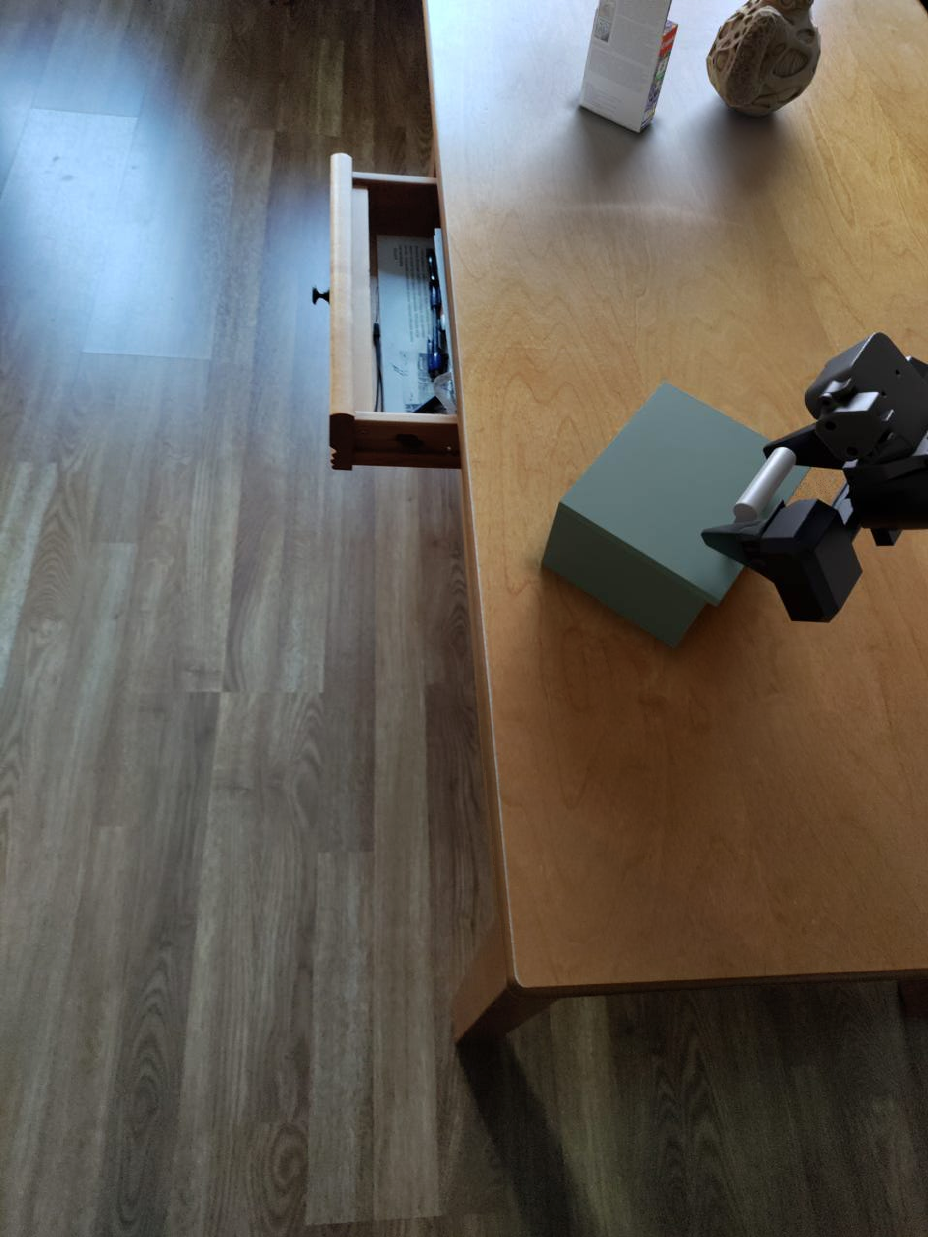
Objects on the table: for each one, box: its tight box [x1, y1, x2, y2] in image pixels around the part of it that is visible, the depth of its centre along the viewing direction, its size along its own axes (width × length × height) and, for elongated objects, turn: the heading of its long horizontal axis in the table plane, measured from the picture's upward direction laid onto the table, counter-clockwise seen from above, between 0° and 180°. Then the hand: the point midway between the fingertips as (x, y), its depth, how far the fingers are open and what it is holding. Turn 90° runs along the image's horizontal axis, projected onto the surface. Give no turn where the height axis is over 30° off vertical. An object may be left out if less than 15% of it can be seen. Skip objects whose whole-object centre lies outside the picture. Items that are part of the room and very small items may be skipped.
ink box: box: [577, 0, 679, 134], centre depth 88 cm, size 4×8×15 cm, turn 55°
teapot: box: [705, 0, 822, 118], centre depth 90 cm, size 21×12×15 cm, turn 154°
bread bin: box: [540, 508, 708, 650], centre depth 63 cm, size 12×15×7 cm
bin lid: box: [556, 380, 812, 608], centre depth 58 cm, size 12×15×5 cm
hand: (735, 493), depth 58 cm, fingers open, 9 cm apart
